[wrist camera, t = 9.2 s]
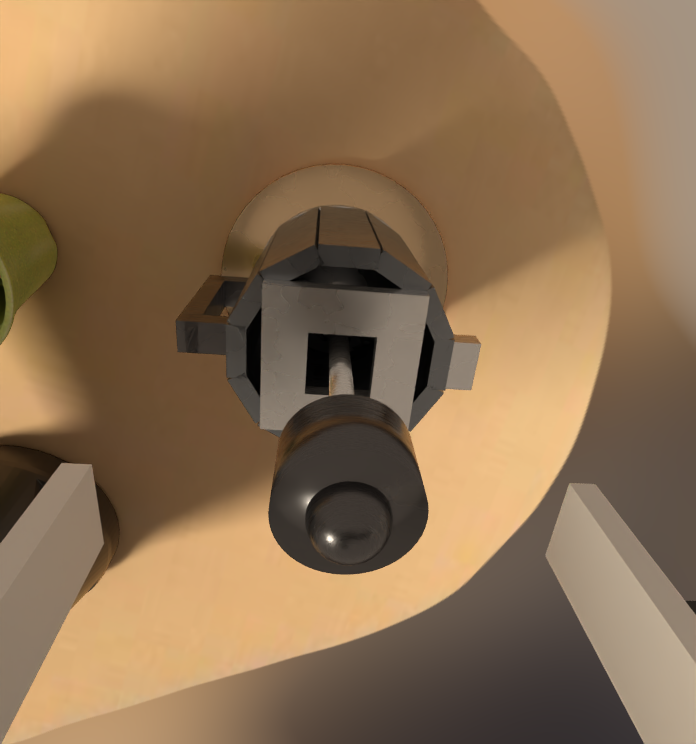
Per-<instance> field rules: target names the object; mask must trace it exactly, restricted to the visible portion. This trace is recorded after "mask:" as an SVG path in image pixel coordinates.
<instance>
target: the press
mask: <svg viewBox="0 0 696 744" xmlns="http://www.w3.org/2000/svg"><path fill="white" fill-rule="evenodd" d="M319 266H332V267H345V268H358V269H371V270H375V271H377V272H378V273H380V274H381V275H383V276H384V277H386V278H387V279H388V280H390V281H391V283H392V288H381V287H368V286H354V285H341V284H327V283H314V282H300V281H290V280H292V279H294V278H296V277H298V276H300V275H302V274H304V273H307V272H309V271H311V270H313V269H315V268H317V267H319ZM447 282H448V272H447V260H446V254H445V249H444V246H443V243H442V239H441V236H440V234H439V232H438V230H437V228H436V225H435V223H434V222H433V220H432V219H431V217H430V215H429V214H428V212H427V211H426V209H425V208H424V207H423V206H422V205H421V204H420V202H419V201H418V200H417V199H416V198H415V197H414V196H413V195H412V194H410V193H409V192H408V191H407V190H406V189H405V188H404V187H402V186H401V185H399V184H398V183H396V182H395V181H393V180H392V179H390V178H388V177H386V176H384V175H382V174H380V173H377V172H375V171H372V170H369V169H366V168H362V167H358V166H352V165H346V164H325V165H317V166H311V167H307V168H303V169H300V170H296V171H294V172H292V173H289V174H287V175H285V176H282V177H281V178H279V179H277V180H276V181H274V182H273V183H271V184H269V185H268V186H267V187H266V188H264V189H263V190H262V191H261V192H259V193H258V194H257V195H256V196H255V197H254V198H253V199H252V200H251V202H250V203H249V204H248V205H247V206H246V207H245V208H244V210H243V211H242V213H241V214H240V216H239V217H238V218H237V220H236V222H235V224H234V226H233V228H232V230H231V232H230V234H229V237H228V240H227V243H226V246H225V250H224V255H223V260H222V274H221V276H218V275H210V276H209V278H208V279H207V280H206V281H205V283H204V284H203V285H202V287H201V288H200V289H199V291H198V292H197V293H196V295H195V296H194V297H193V299H192V300H191V301H190V302H189V304H188V305H187V306H186V308H185V309H184V310H183V312H182V313H181V314H180V316H179V317H178V318H177V320H176V333H177V349H178V352H187V353H203V354H219V355H226V372H227V378H228V382H229V383H230V385H231V387H232V388H233V390H234V391H235V393H236V394H237V396H238V397H239V399H240V400H241V402H242V404H243V405H244V407H245V408H246V410H247V411H248V413H249V414H250V416H251V417H252V419H253V421H254V422H255V423H257V422H258V426H260V429H265V430H267V431H269V432H271V433H272V434H274V435H276V436H278V437H280V436H281V433H282V431H283V429H284V427H285V425H286V424H287V422H288V421H289V420H290V419H291V417H292V416H293V415H294V414H295V413H297V412H298V411H299V410H300V409H301V408H303V407H304V406H306V405H307V404H309V403H311V402H313V401H315V400H318V399H321V398H324V397H328V396H329V353H326V352H322V351H318V350H315V349H313V348H310V347H309V346H308V333H320V334H334V335H349V336H364V337H375V339H374V340H373V341H372V342H370V343H369V344H367V345H365V346H364V347H362V348H359V349H357V350H354V351H350V357H351V367H352V376H353V386H354V395H361V396H365V397H369V398H372V399H375V400H377V401H379V402H381V403H383V404H385V405H387V406H388V407H389V408H391V409H392V410H393V411H394V412H395V413H397V414H398V415H399V417H400V418H401V419H402V420H403V422H404V423H405V425H406V427H407V429H408V431H410V432H411V431H412V429H413V428H414V427H415V426H416V425H417V424H418V422H419V421H420V420H421V419H422V418H423V417H424V416H425V414H426V413H427V412H428V411H429V410H430V409H431V407H432V406H433V405H434V404H435V403H436V402H437V401H438V399H439V398H440V397H441V396H442V395H443V394H444V393H443V390H444V391H445V389H459V390H471V389H472V384H473V379H474V375H475V370H476V365H477V361H478V356H479V352H480V347H481V343H480V342H479V340H478V339H477V337H476V336H470V335H455V334H453V332H452V330H451V327H450V325H449V322H448V320H447V317H446V315H445V312H444V310H443V305H444V301H445V297H446V291H447ZM224 307H226V308H227V311H228V313H229V317H227V316H220V314H221V312H222V311H223V309H224Z"/></svg>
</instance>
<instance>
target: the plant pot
mask: <svg viewBox="0 0 696 744" xmlns="http://www.w3.org/2000/svg"><path fill="white" fill-rule="evenodd" d="M56 262H57V246H56V243H55V241H54V239H53V237H52V235H51V233H50V231H49V229H48V227H47V225H46V222H45V220H44V219H43V218H42V217H41V215H40V214H39V213H38V212H37V211H35V210H34V209H33V208H32V207H30V206H29V205H28V204H26V203H25V202H23V201H21V200H19V199H17V198H15V197H12V196H9V195H6V194H1V193H0V276H1V278H0V345H1V344H2V342H3V341H4V340H5V338H6V337H7V335H8V333H9V331H10V329H11V326H12V323H13V320H14V316H15V313H16V311H17V310H18V309H19V307H20V306H21V305H22V304H23V303H24V302H25V301H26V300H27V299H28V298H29V297H30V296H31V295H32V294H33V293H34V292H35V291H36V290H37V289H38V288H39V287H40V286H41V285H42V284H43V283H44V282H45V281H46V280H47V279H48V278H49V277H50V276H51V274H52V273H53V271H54V269H55V266H56Z"/></svg>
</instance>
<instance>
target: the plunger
mask: <svg viewBox="0 0 696 744" xmlns="http://www.w3.org/2000/svg"><path fill="white" fill-rule="evenodd" d="M290 281H300V282H314V283H327V284H341V285H354V286H368V287H381V288H392V283H391V281H390V280H388V279H387V278H386V277H384V276H383V275H381V274H380V273H378V272H377V271H375V270H371V269H358V268H345V267H332V266H319V267H317V268H315V269H313V270H311V271H309V272H307V273H304V274H302V275H300V276H298V277H296V278H294V279H292V280H290ZM374 339H375V337H364V336H349V335H334V334H320V333H308V346H309V347H310V348H313V349H315V350H318V351H322V352H326V353H329V396H328V397H324V398H321V399H318V400H315V401H313V402H311V403H309V404H307V405H306V406H304V407H303V408H301V409H300V410H299V411H298V412H297V413H295V414H294V415H293V416H292V417H291V419H290V420H289V421H288V422H287V424H286V425H285V427H284V429H283V431H282V433H281V436H280V439H279V443H278V450H277V457H276V463H275V470H274V477H273V483H272V490H271V497H270V504H269V512H268V514H269V524H270V528H271V531H272V533H273V536H274V538H275V539H276V541H277V543H278V544H279V545H280V547H281V548H282V549H283V550H284V551H285V552H286V553H287V554H288V555H289V556H290V557H292V558H293V559H295V560H296V561H297V562H299V563H301V564H303V565H305V566H307V567H309V568H312V569H315V570H318V571H321V572H326V573H332V574H360V573H366V572H370V571H374V570H377V569H380V568H383V567H385V566H387V565H390V564H391V563H393V562H395V561H397V560H398V559H400V558H401V557H403V556H404V555H405V554H406V553H407V552H409V551H410V550H411V549H412V548H413V546H414V545H415V544H416V543H417V542H418V540H419V539H420V537H421V536H422V534H423V531H424V529H425V527H426V523H427V520H428V501H427V497H426V493H425V489H424V485H423V481H422V478H421V474H420V470H419V467H418V463H417V459H416V455H415V452H414V448H413V444H412V441H411V437H410V434H409V431H408V429H407V427H406V425H405V423H404V422H403V420H402V419H401V418H400V417H399V415H398V414H397V413H395V412H394V411H393V410H392V409H391V408H389V407H388V406H387V405H385V404H383V403H381V402H379V401H377V400H375V399H372V398H369V397H365V396H361V395H354V386H353V376H352V367H351V357H350V351H354V350H357V349H359V348H362V347H364V346H365V345H367V344H369V343H370V342H372V341H373V340H374Z"/></svg>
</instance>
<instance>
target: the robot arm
mask: <svg viewBox="0 0 696 744" xmlns="http://www.w3.org/2000/svg"><path fill="white" fill-rule="evenodd" d="M118 541H119V525H118V520H117V517H116V514H115V511H114V509H113V507H112V505H111V503H110V501H109V500H108V498H107V497H106V495H105V494H104V493H103V491H102V490H101V489H100V488H99V487H98V486H97V485H96V484H95V481H94V475H93V468H92V464H73V463H67V462H65V461H63V460H61V459H58V458H56V457H54V456H51V455H49V454H46V453H43V452H40V451H36V450H32V449H28V448H23V447H16V446H2V445H0V744H1V743H2V741H3V739H4V737H5V735H6V733H7V732H8V730H9V728H10V726H11V724H12V722H13V720H14V718H15V716H16V714H17V712H18V710H19V708H20V706H21V704H22V702H23V700H24V698H25V696H26V695H27V693H28V691H29V689H30V687H31V685H32V683H33V681H34V679H35V677H36V675H37V673H38V671H39V669H40V667H41V665H42V663H43V661H44V659H45V657H46V656H47V654H48V652H49V650H50V648H51V646H52V644H53V642H54V640H55V638H56V636H57V634H58V632H59V630H60V628H61V626H62V624H63V622H64V620H65V619H66V617H67V615H68V613H69V611H70V609H71V608H72V607H73V606H74V605H75V604H76V603H77V602H78V601H79V600H80V599H81V598H82V597H83V596H84V595H85V594H86V593H87V592H89V591H90V590H91V589H92V588H93V587H94V586H95V585H96V584H97V583H98V582H99V580H100V579H101V578H102V576H103V575H104V573H105V571H106V569H107V567H108V565H109V563H110V561H111V559H112V557H113V555H114V553H115V551H116V548H117V545H118ZM545 556H546V558H547V560H548V562H549V563H550V565H551V567H552V569H553V571H554V573H555V575H556V577H557V579H558V581H559V583H560V584H561V586H562V588H563V590H564V592H565V594H566V596H567V598H568V600H569V602H570V603H571V605H572V607H573V609H574V611H575V613H576V615H577V617H578V619H579V621H580V622H581V624H582V626H583V628H584V630H585V632H586V634H587V636H588V638H589V640H590V641H591V643H592V645H593V647H594V649H595V651H596V653H597V655H598V657H599V659H600V660H601V662H602V664H603V666H604V668H605V670H606V672H607V673H608V676H609V678H610V679H611V681H612V683H613V685H614V687H615V689H616V691H617V693H618V695H619V696H620V698H621V700H622V702H623V704H624V706H625V708H626V710H627V712H628V714H629V716H630V717H631V719H632V721H633V723H634V725H635V727H636V729H637V731H638V733H639V735H640V736H641V738H642V740H643V742H644V744H696V601H685V600H684V599H683V598H682V596H681V595H680V594H679V593H678V591H677V590H676V589H675V587H674V586H673V585H672V583H671V582H670V581H669V579H668V578H667V577H666V576H665V574H664V573H663V572H662V570H661V569H660V568H659V567H658V565H657V564H656V563H655V561H654V560H653V559H652V557H651V556H650V555H649V553H648V552H647V551H646V550H645V548H644V547H643V546H642V544H641V543H640V542H639V540H638V539H637V538H636V537H635V535H634V534H633V533H632V531H631V530H630V529H629V527H628V526H627V525H626V524H625V522H624V521H623V520H622V519H621V517H620V516H619V515H618V513H617V512H616V511H615V509H614V508H613V507H612V506H611V504H610V503H609V501H608V500H607V499H606V498H605V496H604V495H603V494H602V493H601V491H600V490H599V488H598V487H597V486H596V485H595V484H578V483H576V484H575V483H569V486H568V489H567V493H566V495H565V498H564V501H563V504H562V507H561V511H560V513H559V516H558V519H557V522H556V525H555V528H554V531H553V534H552V537H551V540H550V543H549V546H548V549H547V552H546V555H545Z"/></svg>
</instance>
